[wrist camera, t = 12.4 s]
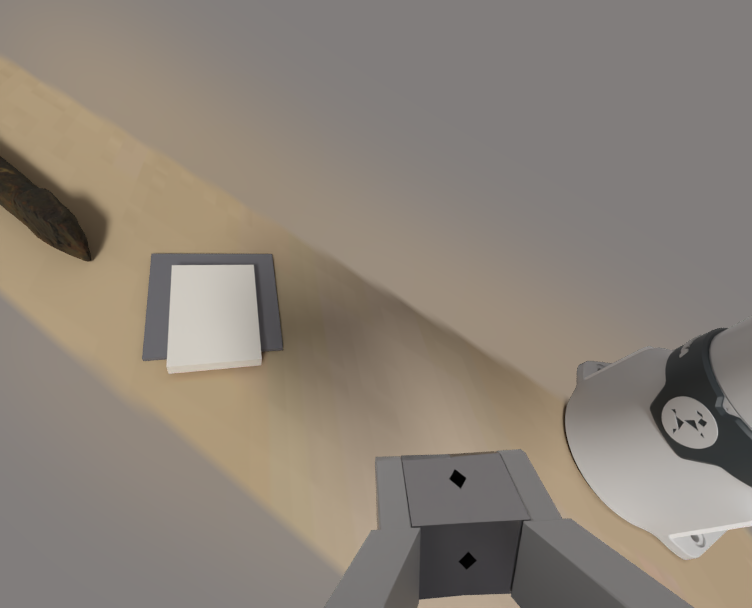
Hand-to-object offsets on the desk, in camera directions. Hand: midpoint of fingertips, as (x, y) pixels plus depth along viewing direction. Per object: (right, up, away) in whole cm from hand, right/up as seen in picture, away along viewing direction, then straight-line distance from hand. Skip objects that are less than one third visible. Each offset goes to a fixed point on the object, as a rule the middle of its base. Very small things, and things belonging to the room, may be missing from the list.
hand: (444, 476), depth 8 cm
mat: (-16, +4, +28) cm, 33 cm away
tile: (-14, -2, +24) cm, 28 cm away
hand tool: (-34, +13, +29) cm, 47 cm away
